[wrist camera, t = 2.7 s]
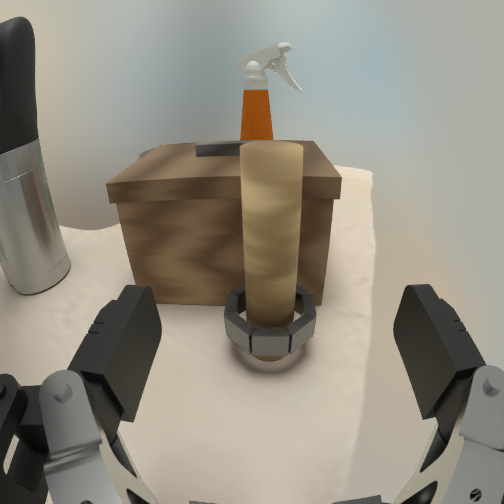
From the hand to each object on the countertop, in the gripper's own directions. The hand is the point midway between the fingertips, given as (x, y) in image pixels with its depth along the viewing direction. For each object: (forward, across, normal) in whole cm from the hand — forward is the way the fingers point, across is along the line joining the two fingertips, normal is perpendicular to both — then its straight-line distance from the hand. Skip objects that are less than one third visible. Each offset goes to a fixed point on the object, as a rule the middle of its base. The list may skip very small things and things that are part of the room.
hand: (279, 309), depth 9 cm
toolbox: (+23, +4, +13) cm, 26 cm away
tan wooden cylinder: (+11, 0, +13) cm, 17 cm away
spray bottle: (+41, 0, +13) cm, 43 cm away
